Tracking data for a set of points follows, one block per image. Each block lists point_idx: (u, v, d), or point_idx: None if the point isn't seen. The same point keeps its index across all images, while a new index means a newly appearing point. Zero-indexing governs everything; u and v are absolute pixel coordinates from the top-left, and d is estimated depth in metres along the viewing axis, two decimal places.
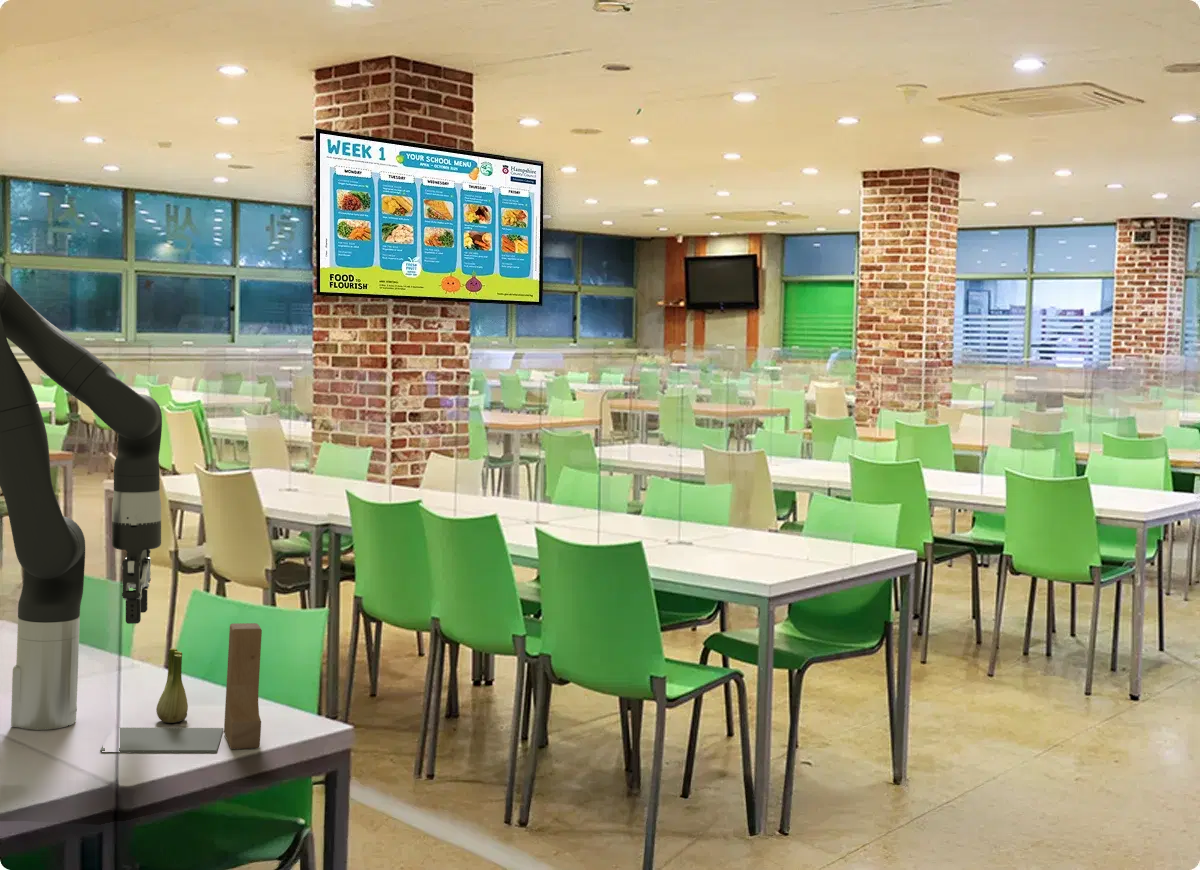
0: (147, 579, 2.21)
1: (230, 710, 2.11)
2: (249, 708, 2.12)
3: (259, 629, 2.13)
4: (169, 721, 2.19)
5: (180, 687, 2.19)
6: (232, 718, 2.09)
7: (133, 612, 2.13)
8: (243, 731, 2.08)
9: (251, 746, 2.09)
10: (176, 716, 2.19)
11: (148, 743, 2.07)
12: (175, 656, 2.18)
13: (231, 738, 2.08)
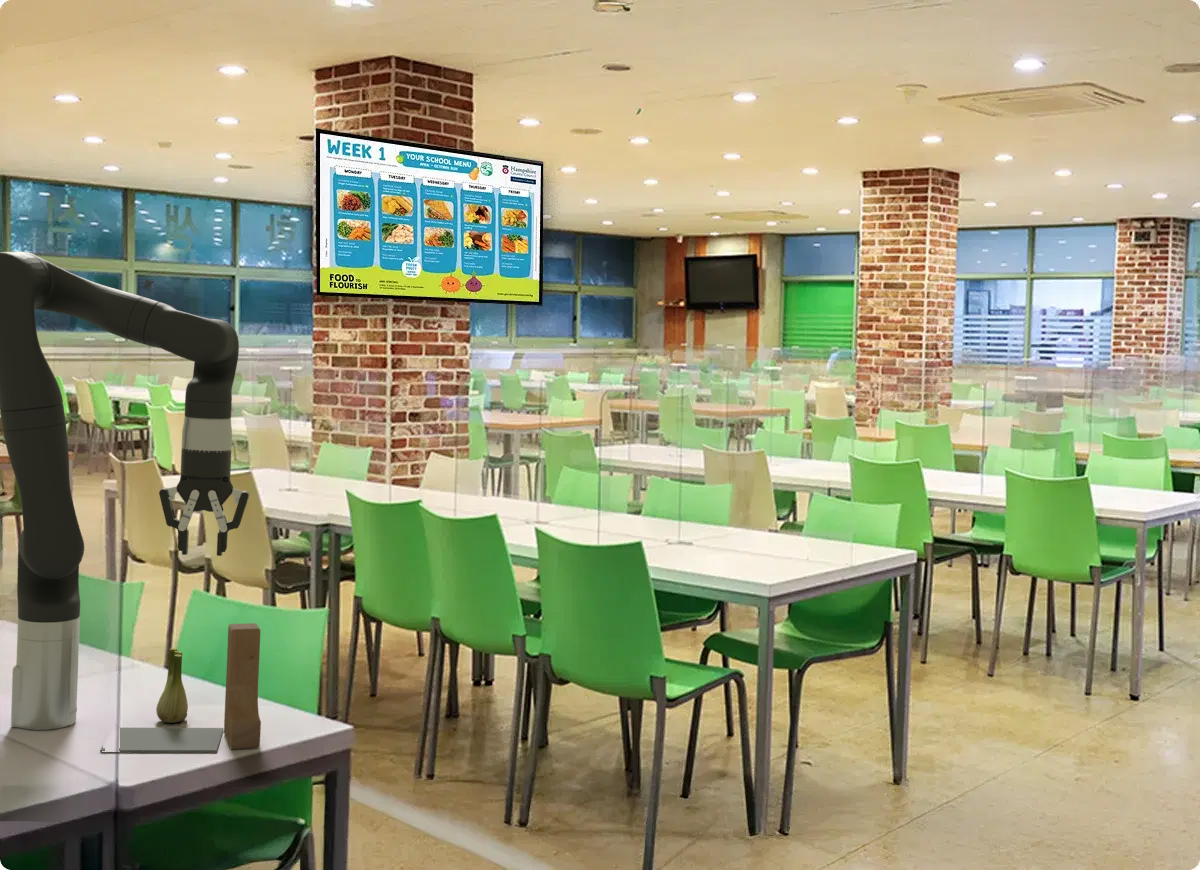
0: (192, 514, 2.12)
1: (230, 710, 2.11)
2: (248, 708, 2.12)
3: (258, 629, 2.13)
4: (169, 721, 2.19)
5: (180, 686, 2.19)
6: (232, 718, 2.09)
7: None
8: (243, 731, 2.08)
9: (251, 746, 2.09)
10: (176, 716, 2.19)
11: (148, 743, 2.07)
12: (175, 656, 2.18)
13: (231, 738, 2.08)
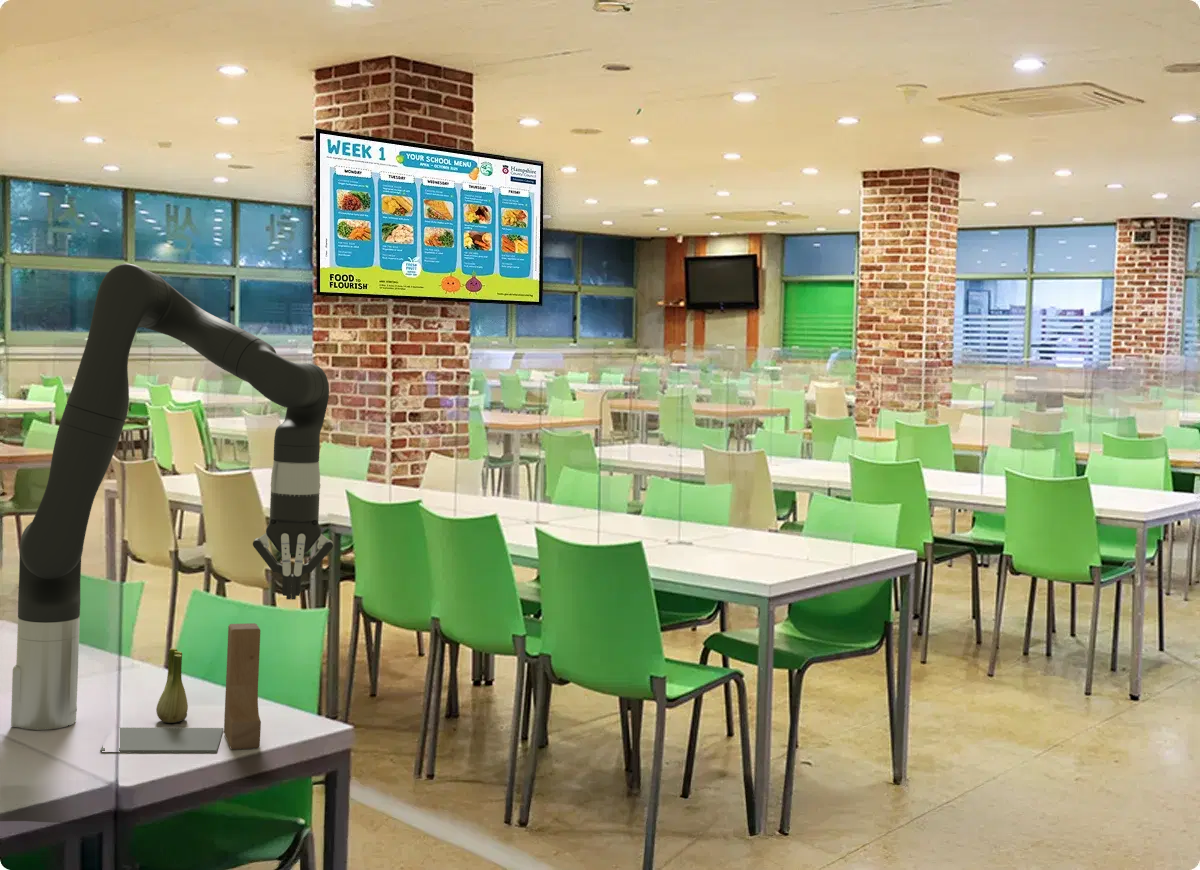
0: (290, 556, 2.14)
1: (230, 710, 2.11)
2: (248, 708, 2.12)
3: (258, 629, 2.13)
4: (169, 721, 2.19)
5: (180, 686, 2.19)
6: (232, 718, 2.09)
7: None
8: (243, 731, 2.08)
9: (251, 746, 2.09)
10: (176, 716, 2.19)
11: (148, 743, 2.07)
12: (175, 656, 2.18)
13: (231, 738, 2.08)
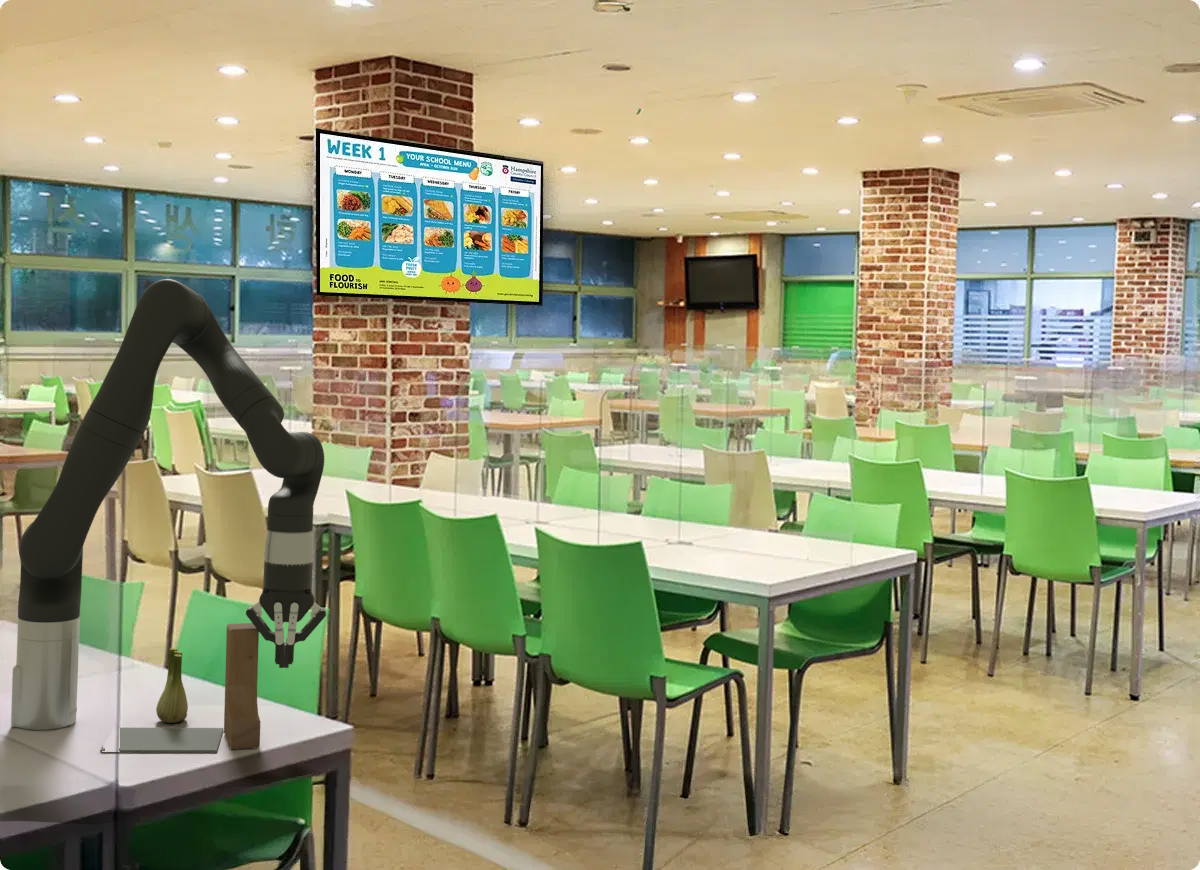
0: (283, 624, 2.14)
1: (229, 710, 2.11)
2: (248, 708, 2.12)
3: (256, 629, 2.12)
4: (169, 721, 2.19)
5: (180, 686, 2.19)
6: (231, 718, 2.09)
7: (293, 654, 2.14)
8: (243, 731, 2.08)
9: (251, 746, 2.09)
10: (176, 716, 2.19)
11: (148, 743, 2.07)
12: (175, 656, 2.18)
13: (231, 738, 2.08)
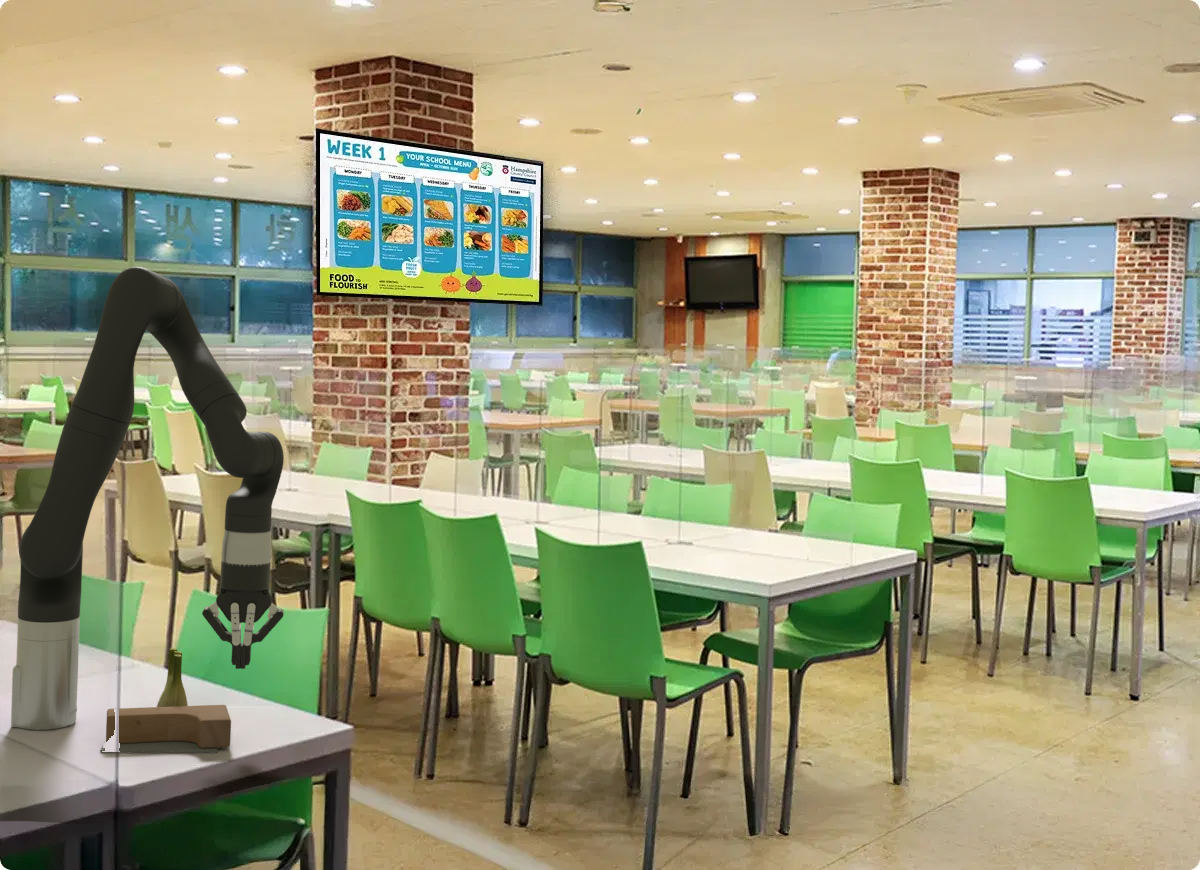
0: None
1: (192, 742, 2.09)
2: (191, 724, 2.09)
3: (108, 718, 2.06)
4: None
5: (180, 686, 2.19)
6: (198, 745, 2.07)
7: (250, 655, 2.12)
8: (211, 736, 2.07)
9: (228, 728, 2.07)
10: None
11: (148, 743, 2.07)
12: (175, 656, 2.18)
13: (218, 747, 2.07)
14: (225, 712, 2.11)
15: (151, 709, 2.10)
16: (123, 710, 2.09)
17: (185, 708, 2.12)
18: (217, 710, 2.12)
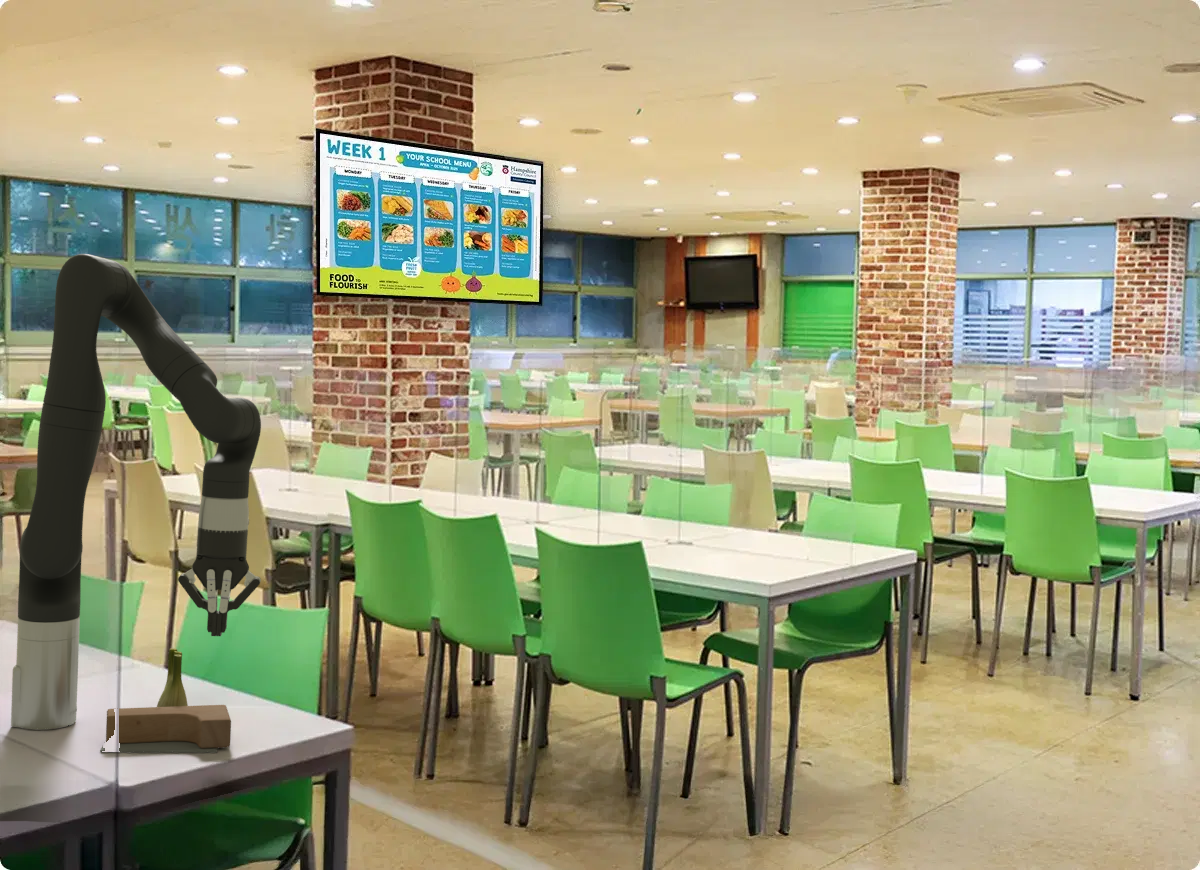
0: (217, 592, 2.11)
1: (192, 742, 2.09)
2: (191, 724, 2.09)
3: (108, 718, 2.06)
4: None
5: (180, 687, 2.19)
6: (198, 745, 2.07)
7: (226, 623, 2.11)
8: (211, 736, 2.07)
9: (228, 728, 2.07)
10: None
11: (148, 743, 2.07)
12: (175, 656, 2.18)
13: (218, 747, 2.07)
14: (225, 712, 2.11)
15: (151, 709, 2.10)
16: (123, 710, 2.09)
17: (185, 708, 2.12)
18: (217, 710, 2.12)
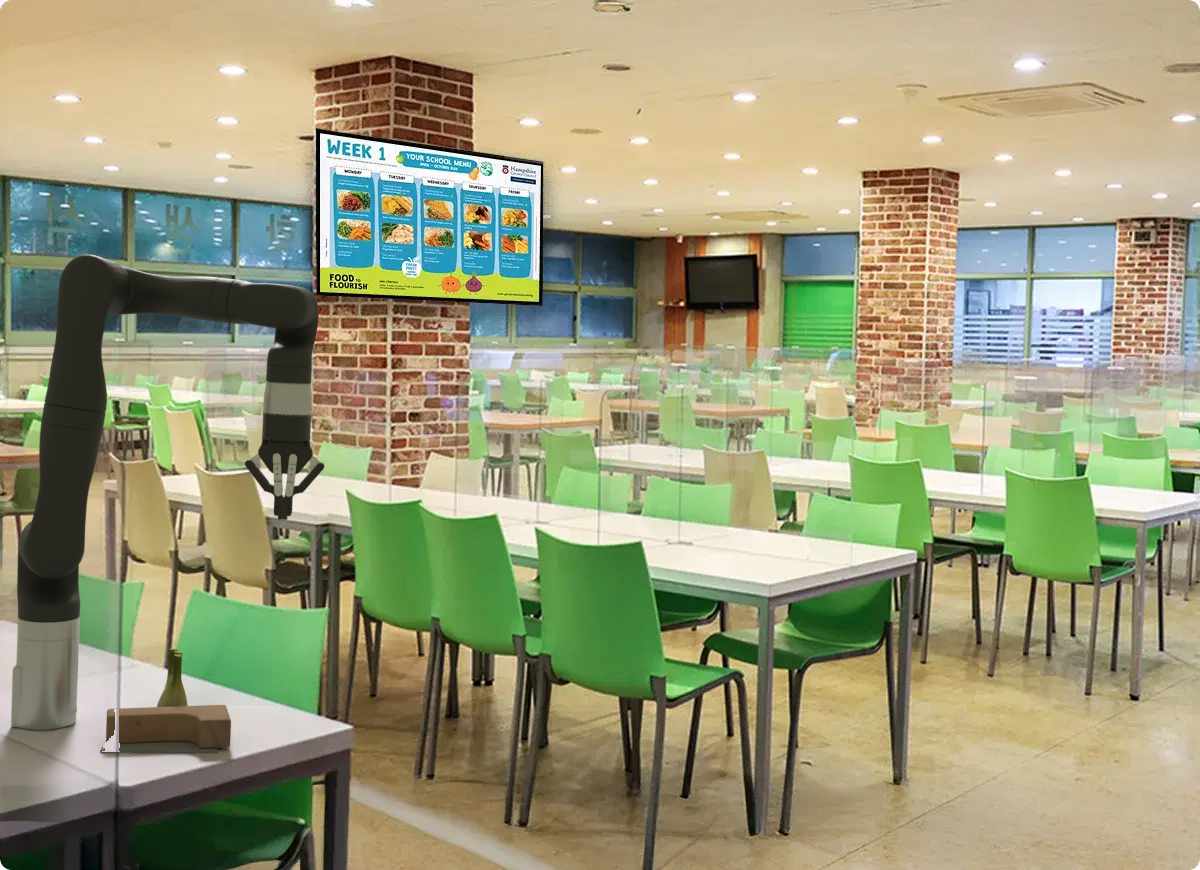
0: None
1: (192, 742, 2.09)
2: (191, 724, 2.09)
3: (108, 718, 2.06)
4: None
5: (180, 686, 2.19)
6: (198, 745, 2.07)
7: None
8: (211, 736, 2.07)
9: (228, 728, 2.07)
10: None
11: (148, 743, 2.07)
12: (175, 656, 2.18)
13: (218, 747, 2.07)
14: (225, 712, 2.11)
15: (151, 709, 2.10)
16: (123, 710, 2.09)
17: (185, 708, 2.12)
18: (217, 710, 2.12)
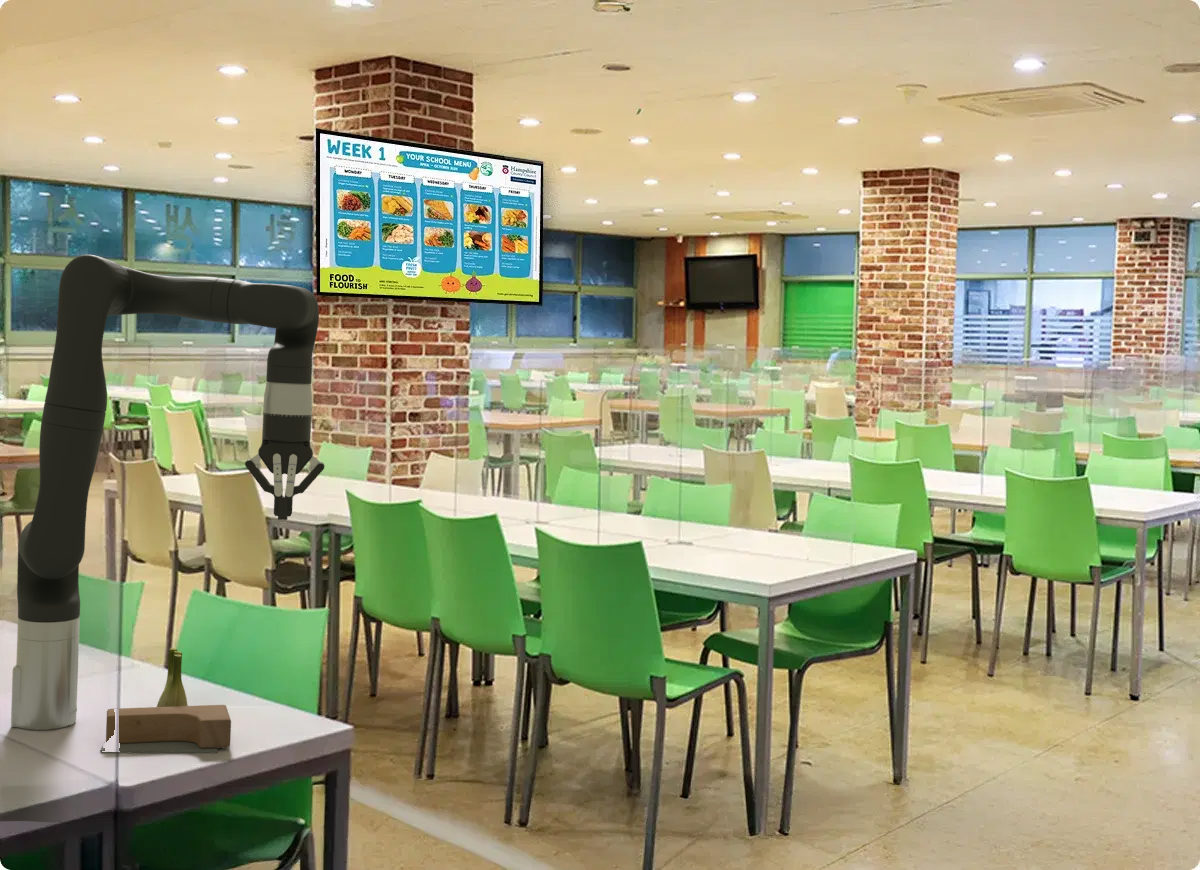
0: (282, 478, 2.16)
1: (192, 742, 2.09)
2: (191, 724, 2.09)
3: (108, 718, 2.06)
4: None
5: (180, 686, 2.19)
6: (198, 745, 2.07)
7: None
8: (211, 736, 2.07)
9: (228, 728, 2.07)
10: None
11: (148, 743, 2.07)
12: (175, 656, 2.18)
13: (218, 747, 2.07)
14: (225, 712, 2.11)
15: (151, 709, 2.10)
16: (123, 710, 2.09)
17: (185, 708, 2.12)
18: (217, 710, 2.12)
